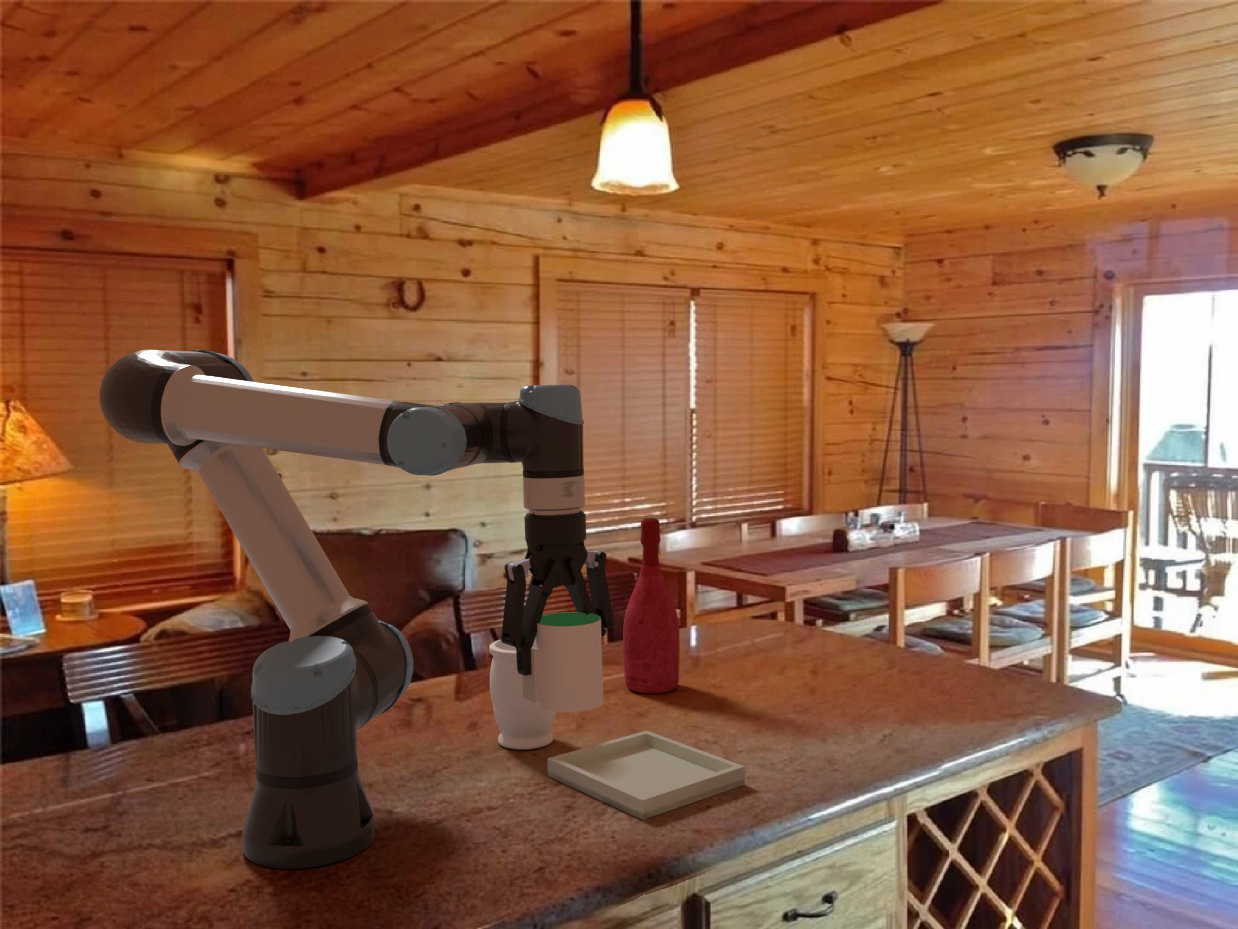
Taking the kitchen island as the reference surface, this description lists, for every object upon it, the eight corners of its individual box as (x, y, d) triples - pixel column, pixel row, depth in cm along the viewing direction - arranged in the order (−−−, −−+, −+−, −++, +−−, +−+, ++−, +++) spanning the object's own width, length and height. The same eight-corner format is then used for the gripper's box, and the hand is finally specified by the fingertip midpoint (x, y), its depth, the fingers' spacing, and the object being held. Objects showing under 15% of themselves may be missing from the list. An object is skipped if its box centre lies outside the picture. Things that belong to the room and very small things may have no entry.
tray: (642, 820, 138) (642, 800, 137) (547, 776, 153) (547, 758, 153) (744, 784, 149) (744, 766, 149) (647, 747, 164) (646, 730, 164)
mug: (505, 697, 140) (502, 615, 139) (555, 684, 145) (552, 605, 144) (565, 716, 131) (563, 629, 130) (616, 702, 136) (614, 618, 135)
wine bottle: (689, 685, 197) (688, 516, 194) (661, 699, 189) (660, 523, 186) (642, 677, 202) (640, 513, 200) (613, 690, 194) (610, 519, 191)
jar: (549, 755, 161) (548, 653, 160) (481, 751, 163) (479, 651, 162) (567, 732, 172) (566, 636, 170) (503, 728, 174) (501, 634, 172)
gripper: (498, 521, 127) (505, 717, 129) (640, 504, 140) (645, 683, 141) (465, 516, 133) (472, 703, 135) (604, 500, 146) (609, 671, 147)
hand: (561, 692), depth 138 cm, fingers closed on mug, 8 cm apart
